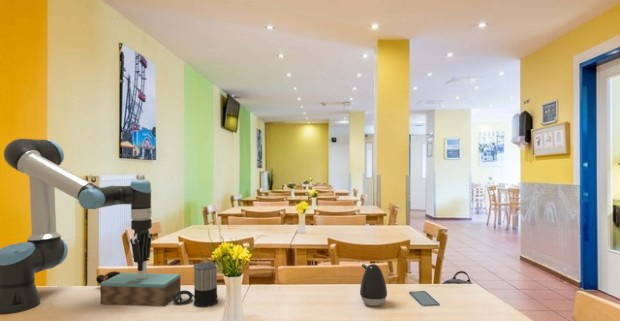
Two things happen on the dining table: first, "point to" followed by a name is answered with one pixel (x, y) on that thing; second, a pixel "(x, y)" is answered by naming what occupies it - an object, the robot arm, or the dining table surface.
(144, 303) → the storage box
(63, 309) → the dining table surface
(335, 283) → the dining table surface
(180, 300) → the milk frother
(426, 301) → the smartphone
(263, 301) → the dining table surface
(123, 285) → the lid
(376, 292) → the pump dispenser
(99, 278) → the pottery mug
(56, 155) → the robot arm
